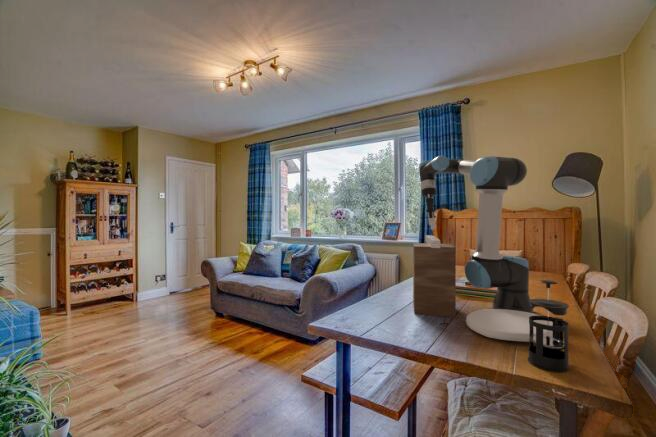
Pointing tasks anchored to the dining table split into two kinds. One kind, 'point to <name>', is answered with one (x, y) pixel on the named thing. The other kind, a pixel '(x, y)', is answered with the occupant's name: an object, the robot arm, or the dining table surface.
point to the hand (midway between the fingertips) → (432, 227)
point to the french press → (548, 347)
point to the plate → (504, 324)
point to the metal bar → (432, 241)
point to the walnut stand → (434, 280)
